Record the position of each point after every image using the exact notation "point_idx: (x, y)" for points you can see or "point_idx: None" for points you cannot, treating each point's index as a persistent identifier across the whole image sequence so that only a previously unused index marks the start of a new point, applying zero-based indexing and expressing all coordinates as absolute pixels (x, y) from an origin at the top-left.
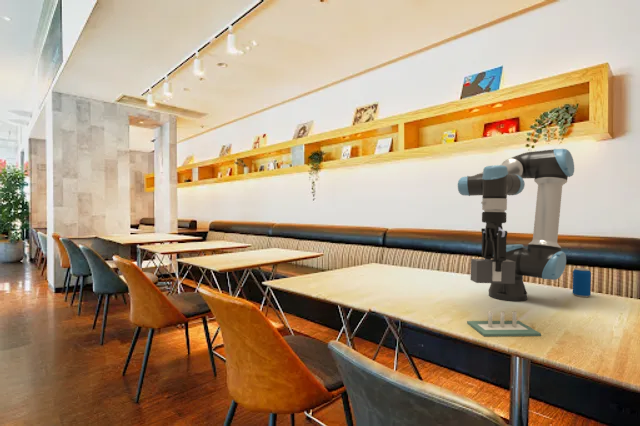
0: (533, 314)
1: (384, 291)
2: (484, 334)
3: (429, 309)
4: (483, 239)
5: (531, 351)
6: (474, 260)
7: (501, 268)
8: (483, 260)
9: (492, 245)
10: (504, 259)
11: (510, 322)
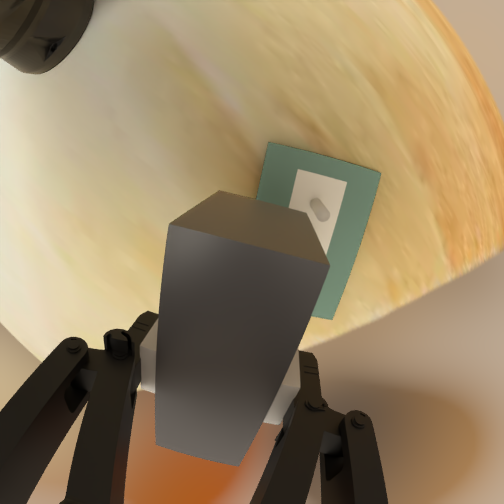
0: (203, 35)
1: (13, 315)
2: (332, 317)
3: (116, 312)
4: (35, 483)
5: (428, 276)
6: (202, 456)
7: (298, 352)
8: (223, 441)
9: (118, 470)
10: (365, 427)
11: (277, 182)
